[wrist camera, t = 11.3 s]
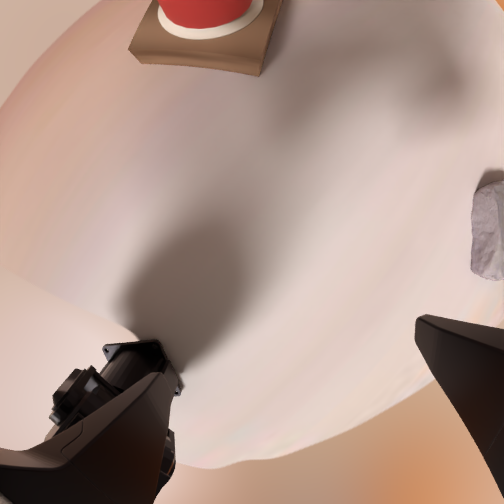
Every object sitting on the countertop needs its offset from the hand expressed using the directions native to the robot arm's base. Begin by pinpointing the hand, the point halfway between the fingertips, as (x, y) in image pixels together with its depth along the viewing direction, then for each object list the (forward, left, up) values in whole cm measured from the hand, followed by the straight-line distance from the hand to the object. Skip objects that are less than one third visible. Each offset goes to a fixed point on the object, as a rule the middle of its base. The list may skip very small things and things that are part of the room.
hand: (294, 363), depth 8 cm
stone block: (+26, -2, -14) cm, 30 cm away
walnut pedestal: (0, +21, -13) cm, 25 cm away
